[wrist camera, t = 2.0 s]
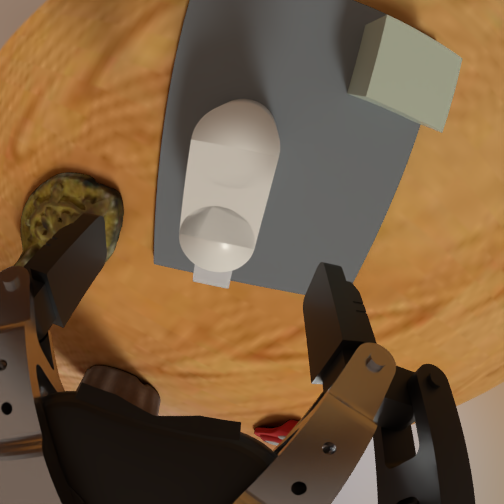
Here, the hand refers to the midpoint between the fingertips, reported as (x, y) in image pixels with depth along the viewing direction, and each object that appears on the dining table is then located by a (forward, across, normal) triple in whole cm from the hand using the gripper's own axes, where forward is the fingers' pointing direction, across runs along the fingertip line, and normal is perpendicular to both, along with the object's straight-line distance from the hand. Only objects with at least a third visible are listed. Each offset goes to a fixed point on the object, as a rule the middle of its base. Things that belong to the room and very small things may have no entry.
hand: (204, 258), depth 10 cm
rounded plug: (+9, 0, +1) cm, 9 cm away
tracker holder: (+10, -16, +40) cm, 45 cm away
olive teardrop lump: (+11, +14, +8) cm, 19 cm away
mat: (+10, -3, -2) cm, 11 cm away
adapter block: (+9, -8, -10) cm, 16 cm away
